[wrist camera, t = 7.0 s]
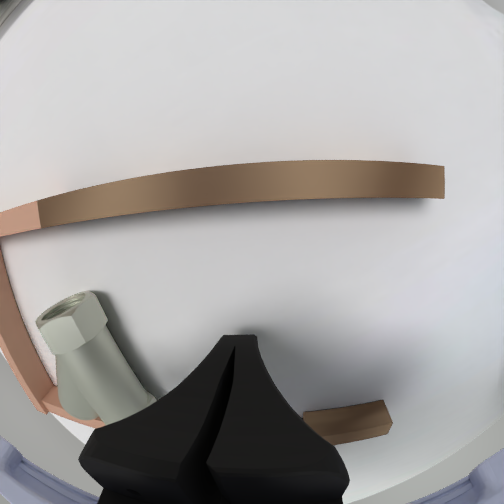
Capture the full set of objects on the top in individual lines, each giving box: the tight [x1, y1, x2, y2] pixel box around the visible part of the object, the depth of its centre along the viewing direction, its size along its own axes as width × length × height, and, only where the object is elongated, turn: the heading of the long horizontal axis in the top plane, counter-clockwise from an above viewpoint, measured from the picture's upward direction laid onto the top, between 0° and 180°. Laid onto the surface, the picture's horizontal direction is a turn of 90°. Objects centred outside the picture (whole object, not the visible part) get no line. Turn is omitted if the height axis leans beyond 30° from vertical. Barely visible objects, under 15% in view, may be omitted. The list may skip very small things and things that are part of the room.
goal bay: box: [0, 201, 106, 428], centre depth 12 cm, size 9×14×2 cm, turn 4°
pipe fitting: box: [35, 291, 157, 425], centre depth 12 cm, size 8×4×7 cm
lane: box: [37, 160, 445, 445], centre depth 12 cm, size 16×20×2 cm
